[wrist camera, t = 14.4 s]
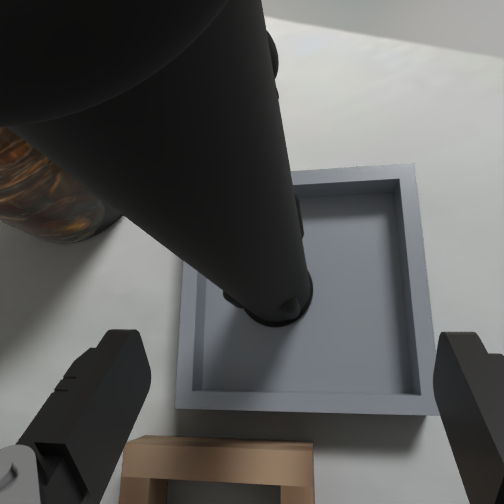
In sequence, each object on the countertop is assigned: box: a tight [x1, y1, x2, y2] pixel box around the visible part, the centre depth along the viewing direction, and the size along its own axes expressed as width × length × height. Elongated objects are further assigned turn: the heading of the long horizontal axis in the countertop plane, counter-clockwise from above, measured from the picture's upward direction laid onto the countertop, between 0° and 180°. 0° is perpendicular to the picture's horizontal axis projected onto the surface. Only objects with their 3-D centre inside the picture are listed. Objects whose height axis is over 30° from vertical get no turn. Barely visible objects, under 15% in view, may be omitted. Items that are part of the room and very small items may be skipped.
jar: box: [0, 127, 122, 243], centre depth 26 cm, size 12×12×15 cm
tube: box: [0, 0, 313, 327], centre depth 15 cm, size 25×6×6 cm
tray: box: [175, 163, 440, 416], centre depth 26 cm, size 15×15×3 cm
